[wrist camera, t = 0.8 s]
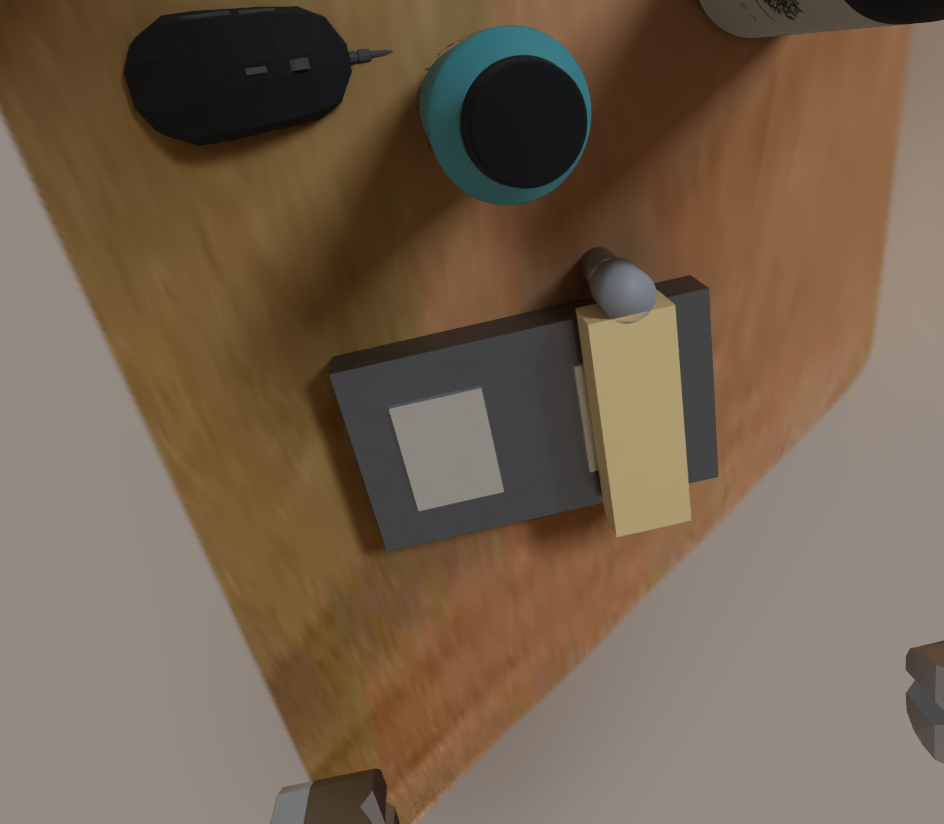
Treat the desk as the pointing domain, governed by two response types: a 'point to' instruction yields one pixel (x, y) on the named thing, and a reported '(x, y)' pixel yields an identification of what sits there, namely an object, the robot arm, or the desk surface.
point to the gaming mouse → (238, 71)
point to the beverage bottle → (506, 114)
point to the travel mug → (816, 15)
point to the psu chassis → (500, 417)
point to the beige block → (635, 399)
